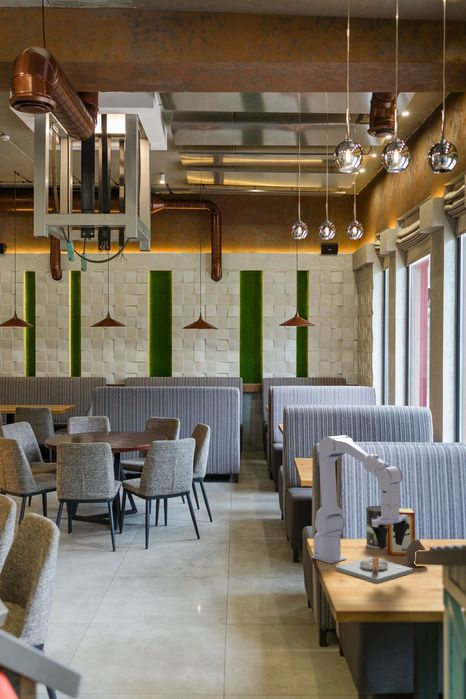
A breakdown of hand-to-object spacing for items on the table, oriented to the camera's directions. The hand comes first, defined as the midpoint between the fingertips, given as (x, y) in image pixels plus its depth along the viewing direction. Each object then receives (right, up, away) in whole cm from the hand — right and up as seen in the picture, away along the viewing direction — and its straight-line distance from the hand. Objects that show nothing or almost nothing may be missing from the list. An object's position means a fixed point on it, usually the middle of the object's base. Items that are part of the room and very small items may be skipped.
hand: (390, 546), depth 223 cm
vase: (+12, -11, +13) cm, 21 cm away
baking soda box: (+10, -11, +28) cm, 32 cm away
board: (-4, -10, +7) cm, 13 cm away
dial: (-4, -9, +6) cm, 11 cm away
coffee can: (+5, -11, +40) cm, 41 cm away
